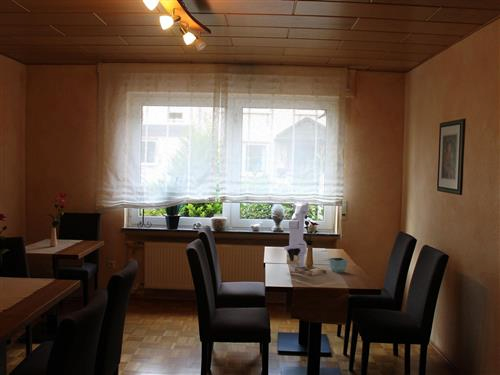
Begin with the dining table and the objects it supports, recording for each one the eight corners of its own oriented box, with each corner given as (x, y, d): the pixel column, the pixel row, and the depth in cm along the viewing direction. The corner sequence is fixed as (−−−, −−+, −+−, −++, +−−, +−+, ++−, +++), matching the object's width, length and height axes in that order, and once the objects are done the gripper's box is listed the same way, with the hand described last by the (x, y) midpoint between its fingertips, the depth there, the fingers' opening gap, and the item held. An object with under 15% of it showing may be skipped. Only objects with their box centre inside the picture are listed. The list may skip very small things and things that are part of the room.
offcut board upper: (309, 272, 299) (309, 270, 299) (316, 270, 304) (316, 268, 304) (314, 273, 296) (314, 271, 296) (321, 271, 302) (321, 269, 302)
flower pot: (334, 274, 303) (335, 260, 303) (328, 271, 312) (329, 257, 311) (347, 274, 306) (347, 260, 305) (341, 271, 314) (341, 257, 314)
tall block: (296, 266, 296) (296, 256, 296) (286, 263, 303) (286, 254, 303) (299, 265, 298) (299, 256, 297) (289, 263, 305) (289, 253, 304)
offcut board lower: (306, 273, 299) (306, 271, 299) (317, 271, 305) (317, 270, 305) (311, 275, 295) (311, 273, 295) (322, 273, 301) (323, 271, 301)
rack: (294, 273, 304) (294, 268, 304) (310, 270, 313) (310, 266, 313) (310, 277, 293) (310, 272, 293) (326, 274, 302) (326, 270, 302)
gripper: (289, 240, 292) (289, 262, 292) (306, 239, 301) (306, 260, 301) (282, 239, 297) (281, 260, 298) (298, 237, 306) (298, 258, 307)
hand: (293, 260), depth 300 cm, fingers closed on tall block, 2 cm apart
